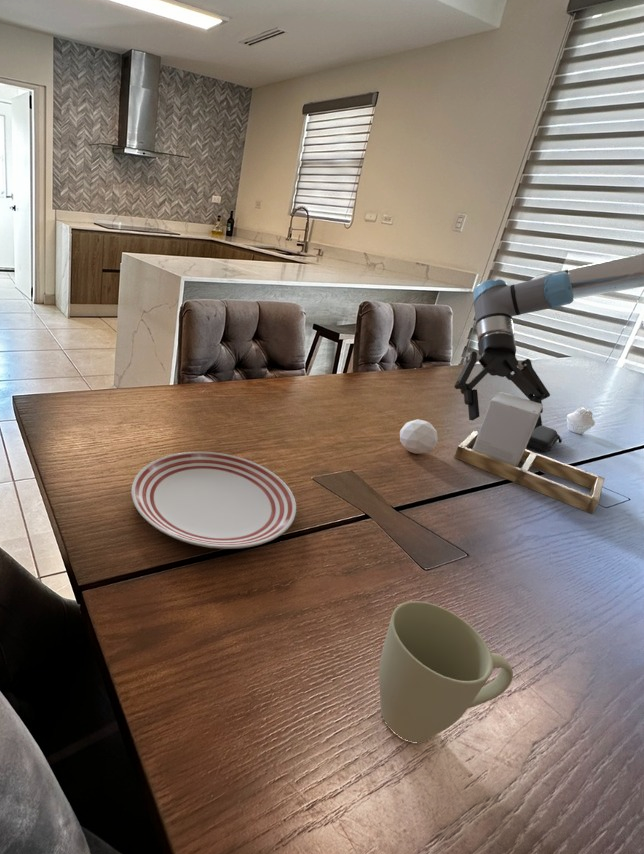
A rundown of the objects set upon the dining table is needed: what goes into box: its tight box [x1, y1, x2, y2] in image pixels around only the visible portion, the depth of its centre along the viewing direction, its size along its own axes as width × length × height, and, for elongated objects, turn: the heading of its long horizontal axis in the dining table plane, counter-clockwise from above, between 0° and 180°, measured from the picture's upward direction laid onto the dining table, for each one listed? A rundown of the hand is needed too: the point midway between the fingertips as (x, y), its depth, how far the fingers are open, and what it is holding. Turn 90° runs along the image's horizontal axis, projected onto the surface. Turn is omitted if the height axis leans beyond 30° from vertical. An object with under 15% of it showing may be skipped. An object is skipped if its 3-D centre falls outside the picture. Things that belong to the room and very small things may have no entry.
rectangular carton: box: [471, 391, 544, 467], centre depth 105 cm, size 9×9×15 cm
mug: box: [378, 600, 514, 744], centre depth 48 cm, size 11×10×12 cm
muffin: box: [566, 407, 596, 435], centre depth 128 cm, size 6×6×7 cm
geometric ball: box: [399, 418, 438, 455], centre depth 106 cm, size 8×8×8 cm
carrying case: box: [526, 424, 563, 453], centre depth 120 cm, size 11×3×15 cm
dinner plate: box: [130, 451, 297, 550], centre depth 79 cm, size 27×27×3 cm
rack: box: [453, 430, 605, 515], centre depth 103 cm, size 26×13×3 cm, turn 46°
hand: (505, 422), depth 105 cm, fingers open, 13 cm apart
